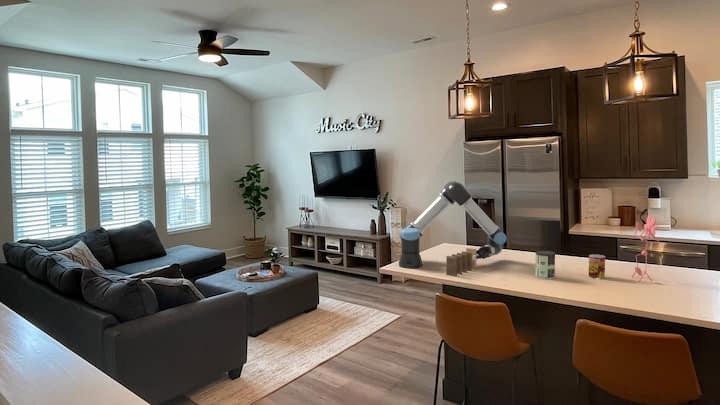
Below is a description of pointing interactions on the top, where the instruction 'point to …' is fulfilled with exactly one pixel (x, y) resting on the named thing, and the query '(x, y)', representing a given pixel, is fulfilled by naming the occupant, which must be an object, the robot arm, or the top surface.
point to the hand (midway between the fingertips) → (467, 257)
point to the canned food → (596, 266)
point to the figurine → (650, 230)
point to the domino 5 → (472, 255)
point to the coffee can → (545, 265)
